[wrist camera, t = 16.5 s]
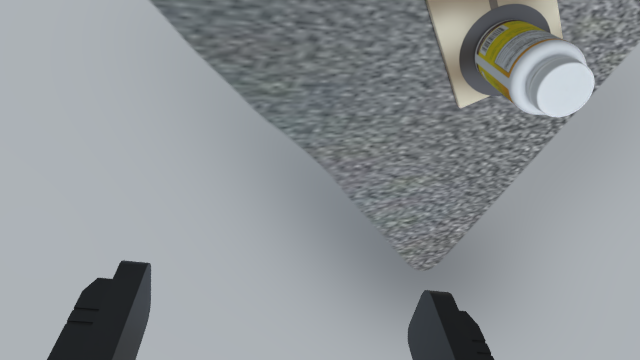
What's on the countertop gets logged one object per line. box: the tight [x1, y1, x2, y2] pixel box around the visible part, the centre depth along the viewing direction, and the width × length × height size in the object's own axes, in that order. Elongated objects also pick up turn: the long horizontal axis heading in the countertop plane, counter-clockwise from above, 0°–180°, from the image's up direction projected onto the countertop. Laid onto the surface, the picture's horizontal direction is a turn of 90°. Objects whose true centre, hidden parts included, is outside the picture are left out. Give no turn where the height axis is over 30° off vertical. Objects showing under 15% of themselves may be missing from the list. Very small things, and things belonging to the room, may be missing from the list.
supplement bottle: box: [475, 19, 594, 117], centre depth 36 cm, size 6×6×10 cm
